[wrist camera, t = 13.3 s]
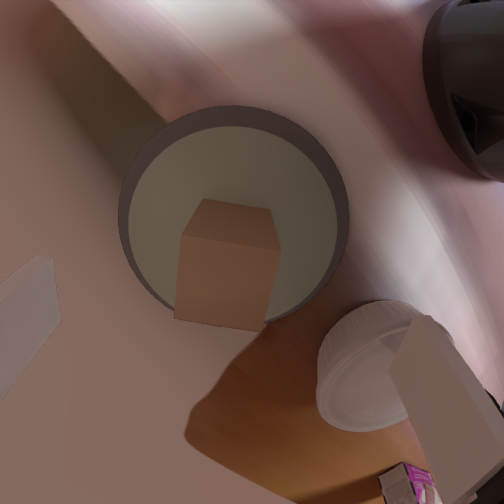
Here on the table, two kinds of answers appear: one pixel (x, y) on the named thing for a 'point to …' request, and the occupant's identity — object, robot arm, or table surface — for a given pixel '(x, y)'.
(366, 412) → the ramekin
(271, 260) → the lid
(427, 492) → the candy bar box
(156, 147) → the trivet
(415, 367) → the robot arm
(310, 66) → the table surface
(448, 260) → the table surface
